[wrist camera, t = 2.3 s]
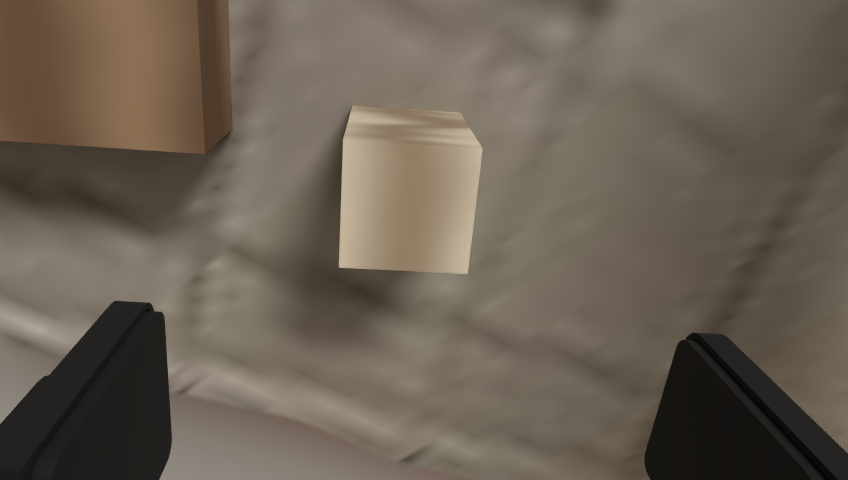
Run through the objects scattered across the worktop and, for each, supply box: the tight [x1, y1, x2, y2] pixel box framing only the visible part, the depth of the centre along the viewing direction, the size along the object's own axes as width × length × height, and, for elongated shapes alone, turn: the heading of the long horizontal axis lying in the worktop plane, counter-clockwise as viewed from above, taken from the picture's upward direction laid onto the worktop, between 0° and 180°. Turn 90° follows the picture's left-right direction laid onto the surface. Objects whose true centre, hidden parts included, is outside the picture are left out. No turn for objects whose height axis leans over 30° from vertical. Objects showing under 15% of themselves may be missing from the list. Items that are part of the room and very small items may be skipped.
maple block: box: [339, 105, 483, 274], centre depth 26 cm, size 5×5×7 cm
